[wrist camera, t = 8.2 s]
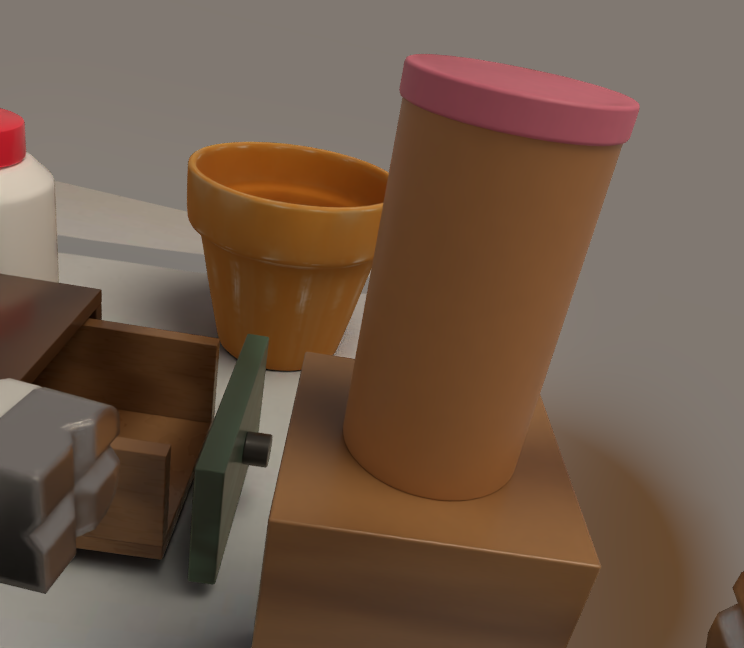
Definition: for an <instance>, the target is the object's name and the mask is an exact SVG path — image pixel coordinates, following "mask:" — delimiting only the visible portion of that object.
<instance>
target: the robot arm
mask: <svg viewBox="0 0 744 648" xmlns="http://www.w3.org/2000/svg"><path fill="white" fill-rule="evenodd" d="M119 434H120V416H119V411H118V410H117V409H116V408H115V407H114V406H112V405H108V404H105V403H101V402H97V401H94V400H90V399H86V398H83V397H79V396H76V395H72V394H68V393H65V392H61V391H57V390H54V389H50V388H46V387H43V388H42V387H40V386H37V385H34V384H30V383H26V382H22V381H18V380H15V379H11V378H7V379H1V380H0V583H3V584H7V585H11V586H15V587H19V588H23V589H28V590H32V591H36V592H40V593H44V594H46V593H47V591H48V590H49V589H50V587H51V586H52V585H53V584H54V582H55V581H56V580H57V578H58V577H59V576H60V574H61V573H62V572H63V571H64V569H65V568H66V567H67V565H68V564H69V563H70V561H71V560H72V559H73V558H74V556H75V555H76V537H78V536H81V535H83V534H85V533H87V532H90V531H92V530H94V529H96V527H97V526H98V525H99V523H100V522H101V520H102V519H103V518H104V516H105V515H106V514H107V512H108V510H109V507H110V505H111V503H112V500H113V498H114V496H115V494H116V491H117V486H118V481H119V476H120V459H119V458H118V456H117V455H116V453H115V452H114V450H113V449H112V447H111V446H110V444H111V443H112V442H113V441H114V440H115V438H116V437H117V436H118V435H119ZM733 590H734V593H735V596H736V599H737V602H738V604H736V605H734V606H732V607H729V608H727V609H725V610H723V611H721V612H719V613H718V614H717V616H716V618H715V620H714V622H713V624H712V626H711V628H710V630H709V632H708V637H707V644H706V648H744V571H743V572H742V573H741V574H740V576H739V578H738V580H737V581H736V583H735V585H734V586H733Z"/></svg>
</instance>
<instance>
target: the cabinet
mask: <svg viewBox="0 0 744 648" xmlns="http://www.w3.org/2000/svg"><path fill="white" fill-rule="evenodd" d="M101 302H102V293H101V290H100V289H94V288H88V287H82V286H75V285H69V284H63V283H57V282H50V281H44V280H38V279H31V278H25V277H19V276H13V275H6V274H0V380H1V379H7V378H11V379H15V380H18V381H22V382H26V383H30V384H31V383H32V382H33V381H34V380H35V379H36V378H37V377H38V375H39V374H40V373H41V372H42V371H43V370H44V368H45V367H46V366H47V365H48V364H49V363H50V361H51V360H52V359H53V358H54V357H55V356H56V355H57V353H58V352H59V351H60V350H61V349H62V348H63V346H64V345H65V344H66V343H67V342H68V341H69V340H70V338H71V337H72V336H73V335H74V334H75V333H76V331H77V330H78V329H79V328H80V327H81V326H82V325H83V323H84V322H85V321H86V320H87V319H88V318H91V319H97V320H102V306H101Z"/></svg>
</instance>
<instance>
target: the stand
mask: <svg viewBox="0 0 744 648" xmlns="http://www.w3.org/2000/svg"><path fill="white" fill-rule="evenodd" d="M354 363H355V359H351V358H345V357H338V356H332V355H326V354H319V353H313V352H306V353H305V356H304V360H303V365H302V369H301V374H300V378H299V383H298V388H297V392H296V397H295V401H294V406H293V410H292V415H291V419H290V424H289V428H288V433H287V437H286V442H285V447H284V451H283V456H282V460H281V465H280V469H279V474H278V478H277V483H276V487H275V492H274V496H273V501H272V505H271V510H270V515H269V519H268V526H267V534H266V541H265V549H264V557H263V564H262V572H261V580H260V587H259V595H258V602H257V610H256V618H255V625H254V633H253V641H252V648H566V647H567V644H568V642H569V640H570V638H571V635H572V633H573V631H574V628H575V626H576V624H577V622H578V619H579V617H580V615H581V613H582V610H583V608H584V606H585V603H586V601H587V599H588V597H589V594H590V592H591V590H592V587H593V585H594V583H595V581H596V579H597V576H598V574H599V572H600V569H601V565H600V562H599V559H598V556H597V554H596V551H595V548H594V545H593V542H592V539H591V537H590V534H589V531H588V529H587V525H586V523H585V520H584V517H583V514H582V511H581V508H580V506H579V503H578V500H577V497H576V495H575V492H574V489H573V486H572V483H571V480H570V477H569V475H568V472H567V469H566V466H565V463H564V460H563V458H562V455H561V452H560V449H559V447H558V444H557V441H556V438H555V435H554V432H553V430H552V427H551V424H550V421H549V418H548V415H547V413H546V410H545V407H544V404H543V401H542V399H541V396H540V395H539V398H538V401H537V404H536V407H535V410H534V413H533V416H532V419H531V422H530V425H529V428H528V431H527V434H526V437H525V440H524V443H523V446H522V449H521V452H520V455H519V458H518V461H517V464H516V467H515V470H514V473H513V475H512V477H511V478H510V480H509V481H508V482H507V483H506V484H505V485H504V486H503V487H501V488H500V489H499V490H497V491H495V492H494V493H492V494H490V495H487V496H484V497H481V498H476V499H471V500H462V501H444V500H435V499H429V498H424V497H420V496H416V495H413V494H409V493H406V492H404V491H401V490H398V489H396V488H394V487H392V486H390V485H388V484H386V483H384V482H382V481H381V480H379V479H377V478H376V477H374V476H373V475H372V474H370V473H369V472H368V471H366V470H365V469H364V468H363V467H362V466H361V465H360V464H359V463H358V462H357V461H356V460H355V458H354V457H353V456H352V454H351V453H350V451H349V450H348V447H347V445H346V443H345V440H344V435H343V423H344V418H345V412H346V407H347V401H348V396H349V390H350V385H351V379H352V374H353V368H354Z"/></svg>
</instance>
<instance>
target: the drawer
mask: <svg viewBox="0 0 744 648" xmlns="http://www.w3.org/2000/svg"><path fill="white" fill-rule="evenodd" d="M268 345H269V337H266V336H260V335H254V334H247V336H246V339H245V342H244V344H243V347H242V349H241V352H240V354H239V357H238V360H237V362H236V365H235V367H234V370H233V372H232V375H231V377H230V380H229V383H228V385H227V388H226V390H225V393H224V395H223V398H222V401H221V403H220V406H219V408H218V411H217V413H216V416H215V418H214V412H215V399H216V386H217V373H218V359H219V346H220V339H218V338H212V337H206V336H199V335H193V334H186V333H180V332H174V331H167V330H161V329H155V328H148V327H142V326H135V325H129V324H123V323H116V322H110V321H104V320H97V319H91V318H88V319H87V320H86V321H85V322H84V323H83V325H82V326H81V327H80V328H79V329H78V330H77V331H76V333H75V334H74V335H73V336H72V337H71V338H70V340H69V341H68V342H67V343H66V344H65V345H64V346H63V348H62V349H61V350H60V351H59V352H58V353H57V355H56V356H55V357H54V358H53V359H52V360H51V361H50V363H49V364H48V365H47V366H46V367H45V368H44V370H43V371H42V372H41V373H40V374H39V375H38V377H37V378H36V379H35V380H34V381H33V382H32V383H31V384H34V385H37V386H40V387H42V388H43V387H46V388H50V389H54V390H57V391H61V392H65V393H68V394H72V395H76V396H79V397H83V398H86V399H90V400H94V401H97V402H101V403H105V404H108V405H112V406H114V407H115V408H116V409H117V410H118V411H119V416H120V434H119V435H118V436H117V437H116V438H115V440H114V441H113V442H112V443H111V444H110V446H111V447H112V449H113V450H114V452H115V453H116V455H117V456H118V458H119V459H120V476H119V481H118V486H117V491H116V494H115V496H114V498H113V500H112V503H111V505H110V507H109V510H108V512H107V514H106V515H105V516H104V518H103V519H102V520H101V522H100V523H99V525H98V526H97V527H96V529H94V530H92V531H90V532H87V533H85V534H83V535H81V536H78V537H76V548H80V549H87V550H94V551H101V552H109V553H116V554H123V555H130V556H138V557H145V558H152V559H159V560H162V558H163V556H164V553H165V550H166V548H167V545H168V543H169V540H170V538H171V535H172V532H173V530H174V527H175V525H176V522H177V519H178V517H179V514H180V512H181V509H182V506H183V504H184V501H185V499H186V496H187V493H188V491H189V488H190V486H191V483H192V481H193V478H194V490H193V506H192V522H191V537H190V553H189V568H188V581H191V582H198V583H205V584H215V582H216V579H217V575H218V572H219V568H220V565H221V561H222V558H223V554H224V551H225V547H226V544H227V540H228V537H229V533H230V529H231V526H232V522H233V519H234V515H235V512H236V508H237V505H238V501H239V498H240V494H241V491H242V487H243V484H244V480H245V477H246V473H247V470H248V466H249V465H252V466H258V467H265V468H266V467H267V466H268V462H269V457H270V452H271V445H272V435H271V434H264V433H258V431H259V424H260V415H261V406H262V397H263V388H264V380H265V371H266V362H267V353H268Z"/></svg>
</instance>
